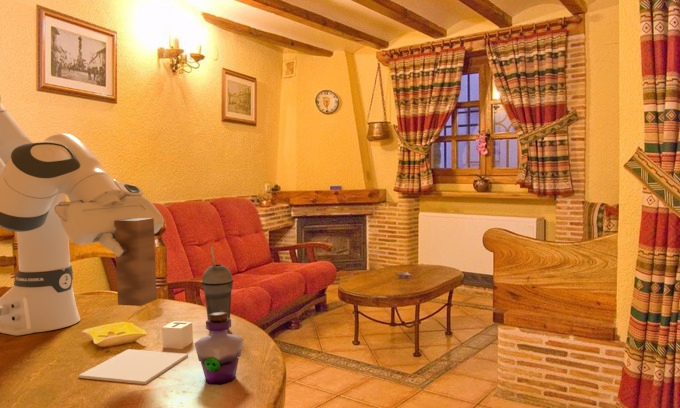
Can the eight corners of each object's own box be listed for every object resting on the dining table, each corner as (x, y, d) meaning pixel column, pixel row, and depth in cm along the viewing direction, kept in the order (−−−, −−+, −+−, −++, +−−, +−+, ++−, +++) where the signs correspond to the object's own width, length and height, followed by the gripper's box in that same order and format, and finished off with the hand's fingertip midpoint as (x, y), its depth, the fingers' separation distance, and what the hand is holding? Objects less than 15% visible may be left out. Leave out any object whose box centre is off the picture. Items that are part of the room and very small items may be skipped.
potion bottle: (194, 391, 87) (192, 321, 86) (196, 372, 96) (194, 308, 95) (246, 385, 89) (244, 317, 88) (243, 367, 97) (241, 305, 97)
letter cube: (163, 347, 110) (162, 326, 109) (174, 341, 114) (173, 320, 114) (181, 349, 108) (181, 327, 108) (192, 342, 113) (192, 321, 113)
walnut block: (118, 304, 97) (114, 220, 96) (134, 298, 102) (131, 218, 101) (141, 306, 96) (137, 220, 95) (156, 299, 100) (153, 218, 99)
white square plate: (78, 377, 94) (78, 375, 94) (128, 351, 107) (128, 349, 107) (145, 384, 90) (145, 381, 90) (188, 356, 104) (187, 353, 104)
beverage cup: (227, 335, 117) (224, 248, 115) (197, 334, 118) (194, 248, 117) (239, 326, 124) (237, 243, 122) (211, 324, 125) (208, 243, 124)
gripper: (57, 190, 91) (98, 248, 87) (146, 186, 109) (183, 233, 106) (42, 215, 93) (82, 272, 89) (132, 207, 111) (167, 254, 108)
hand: (137, 251), depth 98 cm, fingers closed on walnut block, 6 cm apart
